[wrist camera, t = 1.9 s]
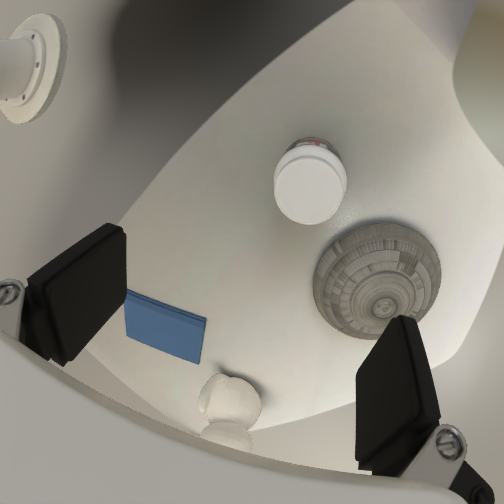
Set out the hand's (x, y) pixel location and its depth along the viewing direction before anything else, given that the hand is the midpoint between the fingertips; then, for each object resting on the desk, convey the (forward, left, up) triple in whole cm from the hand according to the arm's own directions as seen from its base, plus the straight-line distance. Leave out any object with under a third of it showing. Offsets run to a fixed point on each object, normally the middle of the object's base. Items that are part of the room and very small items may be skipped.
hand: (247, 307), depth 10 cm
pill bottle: (+1, +1, -22) cm, 22 cm away
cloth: (-13, -27, -22) cm, 37 cm away
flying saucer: (+12, -9, -22) cm, 27 cm away
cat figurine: (0, -35, -22) cm, 41 cm away
